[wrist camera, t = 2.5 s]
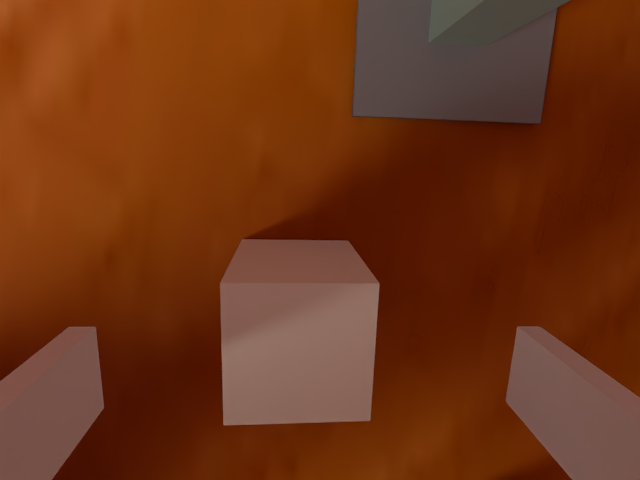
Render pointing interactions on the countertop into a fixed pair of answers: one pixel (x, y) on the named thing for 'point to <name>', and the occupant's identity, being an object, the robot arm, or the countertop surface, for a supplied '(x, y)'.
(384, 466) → the countertop surface
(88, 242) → the countertop surface
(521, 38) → the gray peg base
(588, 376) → the robot arm
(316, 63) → the countertop surface
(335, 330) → the white rectangular block
